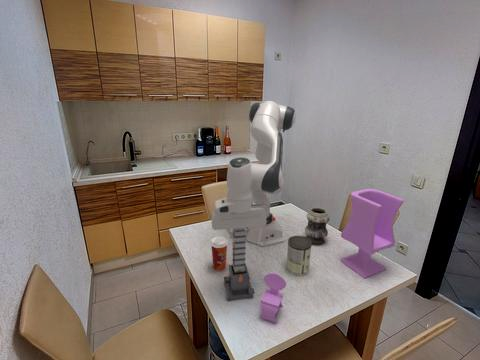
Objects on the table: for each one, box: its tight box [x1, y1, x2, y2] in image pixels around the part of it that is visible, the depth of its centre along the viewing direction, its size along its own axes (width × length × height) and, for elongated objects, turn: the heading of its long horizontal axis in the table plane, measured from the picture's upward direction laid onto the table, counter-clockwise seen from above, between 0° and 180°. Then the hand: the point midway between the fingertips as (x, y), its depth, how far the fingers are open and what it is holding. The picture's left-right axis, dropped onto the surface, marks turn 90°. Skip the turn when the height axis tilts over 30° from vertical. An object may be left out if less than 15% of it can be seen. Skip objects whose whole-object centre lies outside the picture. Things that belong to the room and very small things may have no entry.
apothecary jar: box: [304, 206, 330, 246], centre depth 137 cm, size 12×12×18 cm
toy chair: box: [259, 272, 287, 324], centre depth 91 cm, size 8×9×15 cm
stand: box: [223, 262, 256, 302], centre depth 102 cm, size 11×11×10 cm
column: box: [232, 228, 247, 273], centre depth 98 cm, size 4×4×18 cm
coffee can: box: [285, 235, 313, 277], centre depth 115 cm, size 10×10×14 cm
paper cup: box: [210, 236, 229, 272], centre depth 115 cm, size 8×8×14 cm
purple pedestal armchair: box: [339, 188, 405, 279], centre depth 114 cm, size 16×16×35 cm
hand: (238, 237), depth 96 cm, fingers closed on column, 4 cm apart
